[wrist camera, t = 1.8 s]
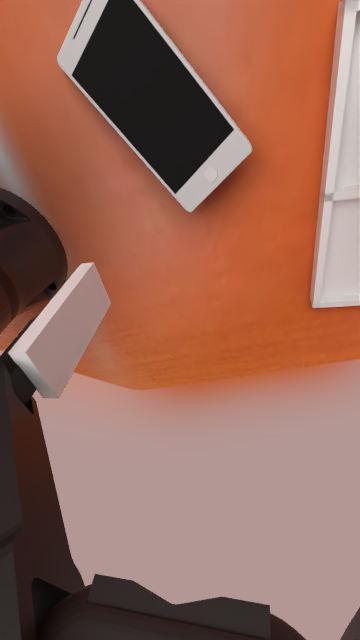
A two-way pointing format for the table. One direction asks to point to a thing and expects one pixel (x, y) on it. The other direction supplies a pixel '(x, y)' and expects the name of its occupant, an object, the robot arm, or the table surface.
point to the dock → (340, 174)
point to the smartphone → (152, 97)
